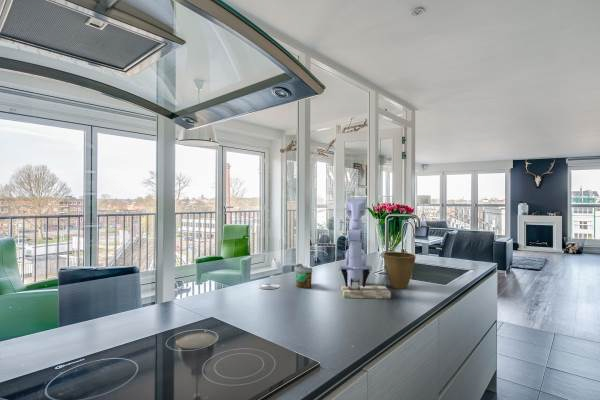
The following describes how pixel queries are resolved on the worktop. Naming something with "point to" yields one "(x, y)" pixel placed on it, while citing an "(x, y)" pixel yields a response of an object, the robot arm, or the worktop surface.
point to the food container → (303, 276)
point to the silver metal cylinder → (354, 283)
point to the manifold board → (366, 292)
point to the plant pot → (399, 268)
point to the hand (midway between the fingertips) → (355, 286)
